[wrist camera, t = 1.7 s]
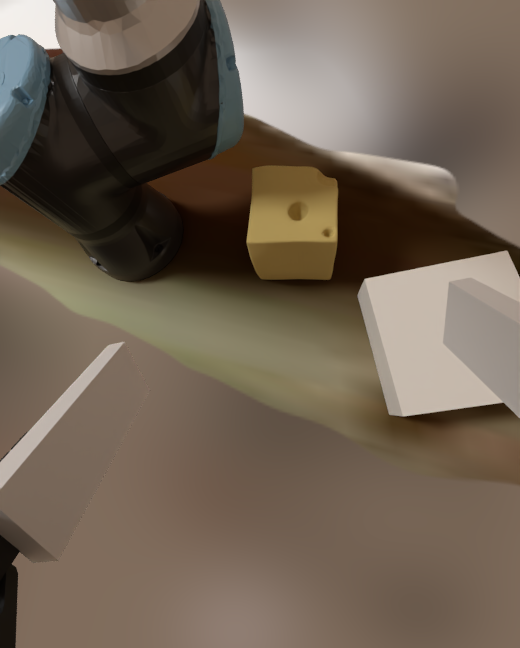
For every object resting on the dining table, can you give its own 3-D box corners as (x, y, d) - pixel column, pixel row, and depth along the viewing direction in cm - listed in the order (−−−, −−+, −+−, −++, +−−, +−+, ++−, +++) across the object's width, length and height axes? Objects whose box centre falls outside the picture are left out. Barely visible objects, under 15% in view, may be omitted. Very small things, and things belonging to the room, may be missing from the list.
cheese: (335, 216, 40) (342, 158, 31) (332, 285, 38) (340, 245, 28) (263, 217, 42) (250, 164, 33) (256, 284, 40) (240, 246, 30)
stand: (357, 295, 37) (364, 279, 32) (480, 271, 35) (507, 250, 30) (389, 414, 32) (403, 416, 28) (531, 394, 30) (572, 392, 26)
